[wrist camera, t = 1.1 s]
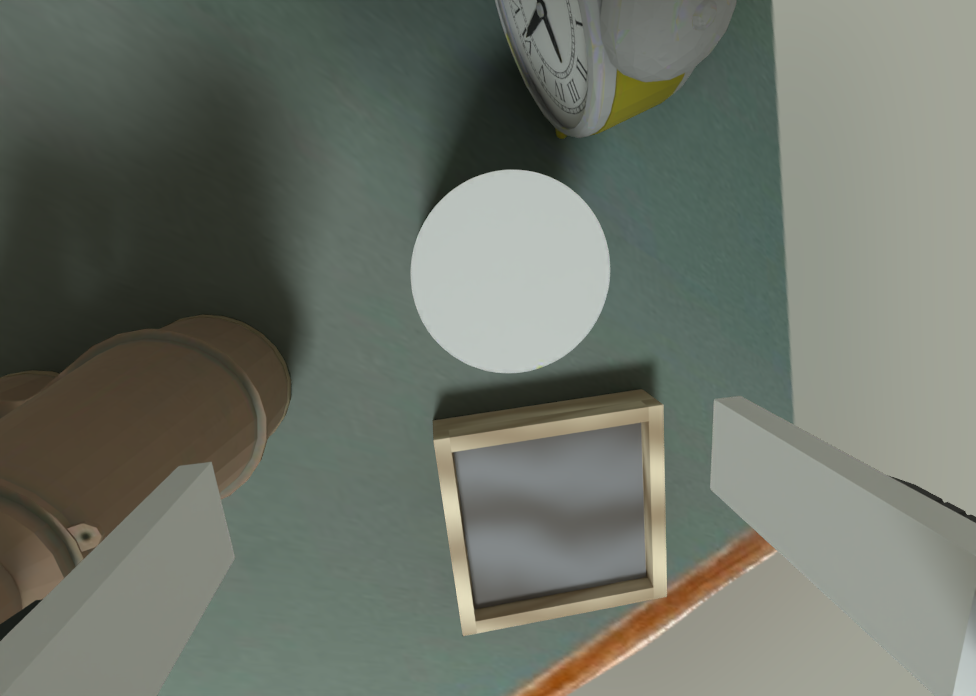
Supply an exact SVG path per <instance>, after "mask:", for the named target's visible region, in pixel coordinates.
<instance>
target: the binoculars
mask: <svg viewBox="0 0 976 696" xmlns="http://www.w3.org/2000/svg"><path fill="white" fill-rule="evenodd" d="M290 400H291V379H290V376H289V373H288V369H287V366H286V363H285V361H284V359H283V358H282V356H281V355H280V353H279V351H278V350H277V348H276V346H274V345H273V344H272V343H271V342H270V341H269V340H268V339H267V338H266V337H265V336H264V335H263V334H262V333H261V332H259V331H258V330H256V329H254V328H252V327H251V326H249V325H247V324H246V323H244V322H241V321H238V320H235V319H231V318H228V317H225V316H215V315H198V316H192V317H187V318H182V319H179V320H177V321H175V322H173V323H171V324H169V325H166V326H164V327H162V328H160V329H142V330H137V331H131V332H126V333H120V334H117V335H115V336H113V337H111V338H109V339H106V340H104V341H102V342H100V343H98V344H96V345H94V346H92V347H91V348H89V349H88V350H87V351H86V352H85V353H84V354H82V355H81V356H80V357H79V358H78V359H77V360H75V361H74V362H73V363H72V364H71V365H70V366H68V367H67V368H66V369H65V370H64V371H62V372H61V373H57V372H53V371H34V370H29V371H24V372H18V373H13V374H8V375H6V376H3V377H0V624H1V623H3V622H4V621H6V620H7V619H9V618H10V617H12V616H13V615H15V614H16V613H18V612H19V611H21V610H22V609H24V608H25V607H27V606H28V605H29V604H31V603H32V602H34V601H35V600H41V599H44V598H45V597H46V596H47V595H48V594H49V593H50V592H51V591H52V590H53V589H54V588H55V587H56V586H57V585H58V584H59V583H60V582H61V581H62V580H63V579H64V578H65V577H66V576H67V575H68V574H69V573H70V572H71V571H72V570H73V569H74V568H75V567H76V566H77V565H78V564H79V563H80V562H81V561H82V560H83V559H84V558H85V557H86V556H87V555H89V554H90V553H91V552H92V551H93V550H94V549H95V548H96V547H97V546H98V545H99V544H100V543H101V542H102V541H103V540H104V539H105V538H106V537H107V536H108V535H109V534H110V533H111V532H112V531H113V530H114V529H115V528H116V527H117V526H118V525H119V524H120V523H121V522H122V521H123V520H124V519H125V518H126V517H127V516H128V515H129V514H130V513H131V512H132V511H133V510H134V509H135V508H136V507H137V506H138V505H139V504H140V503H141V502H142V501H143V500H144V499H145V498H147V497H148V496H149V495H150V494H151V493H152V492H153V491H154V490H155V489H156V488H157V487H158V486H159V485H160V484H161V483H162V482H163V481H164V480H165V479H166V478H167V477H168V476H169V475H170V474H171V473H172V472H173V471H174V470H175V469H176V468H177V467H178V466H182V465H190V464H198V463H206V462H212V466H213V470H214V474H215V478H216V482H217V486H218V490H219V494H220V498H221V499H223V498H225V497H228V496H230V495H231V494H232V493H233V492H234V491H236V490H237V489H238V488H239V487H240V486H241V485H243V484H244V483H245V482H246V481H247V480H248V479H249V478H250V476H251V475H252V473H253V471H254V470H255V468H256V467H257V465H258V464H259V462H260V461H261V459H262V456H263V453H264V449H265V446H266V443H267V439H268V438H269V436H271V435H272V434H273V433H274V432H275V431H276V429H277V428H278V426H279V425H280V423H281V422H282V420H283V419H284V417H285V415H286V413H287V410H288V406H289V403H290Z"/></svg>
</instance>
